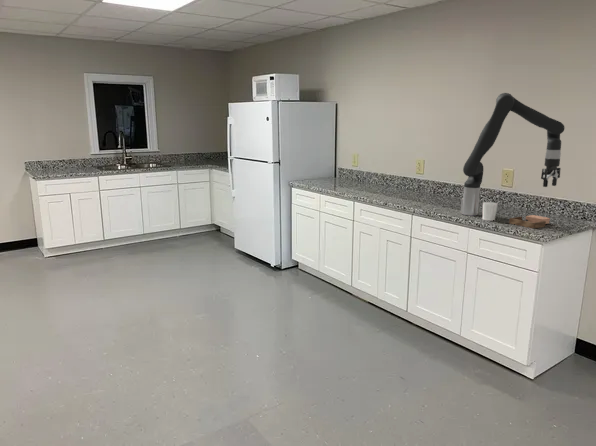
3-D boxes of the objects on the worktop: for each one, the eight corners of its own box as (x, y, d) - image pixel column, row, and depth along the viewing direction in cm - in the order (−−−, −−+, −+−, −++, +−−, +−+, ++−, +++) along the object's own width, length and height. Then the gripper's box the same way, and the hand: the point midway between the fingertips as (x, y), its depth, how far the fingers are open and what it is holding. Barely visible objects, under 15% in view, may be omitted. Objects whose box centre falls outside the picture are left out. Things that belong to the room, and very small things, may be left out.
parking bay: (509, 223, 264) (509, 218, 263) (520, 221, 269) (520, 216, 268) (533, 228, 251) (534, 223, 251) (545, 226, 257) (545, 221, 256)
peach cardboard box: (525, 222, 267) (525, 216, 267) (532, 220, 271) (533, 215, 270) (541, 225, 259) (542, 219, 258) (549, 224, 263) (549, 218, 262)
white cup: (492, 218, 277) (493, 201, 275) (498, 221, 270) (499, 204, 268) (479, 218, 277) (480, 201, 275) (484, 221, 269) (486, 204, 267)
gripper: (553, 157, 268) (550, 184, 272) (538, 158, 261) (535, 186, 265) (566, 157, 262) (563, 186, 265) (551, 158, 255) (548, 187, 258)
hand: (549, 186), depth 265 cm, fingers open, 8 cm apart
